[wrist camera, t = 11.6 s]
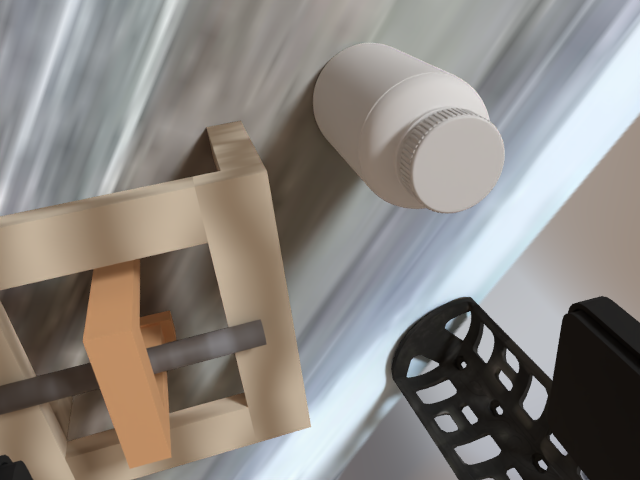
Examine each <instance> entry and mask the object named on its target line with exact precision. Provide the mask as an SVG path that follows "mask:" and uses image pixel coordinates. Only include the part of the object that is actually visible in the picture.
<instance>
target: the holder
mask: <svg viewBox="0 0 640 480" xmlns="http://www.w3.org/2000/svg"><path fill="white" fill-rule="evenodd" d="M469 311H471V324H470V328H469V331H468V333H467V335H466V337H465V339H464V340H461V339H459V338H458V337H456V336H455V335H454V334H452V333H451V332H449V331H448V330H446V329H445V325H446V323H447V322H448V321H449V320H451V319H453V318H455V317H457V316H459V315H461V314H464V313H466V312H469ZM484 324H485V325H486V326H487V327H488V328H489V329H490V330H491V332H492V333H493V335H494V342H495V343H494V349H493V352H492V355H491V357H490V359H489V361H488V363H485V362H484V361H483V360H482V358H481V357H480V356H479V355H478V353H477V349H478V346H479V344H480V340H481V338H482V334H483V327H484ZM506 349H508V350H509V351H510V352H511V353H512V354H513V355H514V356H515V357H516V358H517V360H518V362H519V372H518V373H516V372H515V371H514V370H513V369H512V368H511V366H510V365H509V364H508V363H507V361H506ZM417 355H423V356H425V357H427V358H429V359H431V360H433V361H435V362H438V363H439V366H438V367H436V368H435V369H433V370H432V371H430V372H427V373H425V374H423V375H420V376H416V377H411V378H407V377H406V376H407V372H408V368H409V365H410V362H411V360H412V359H413V357H415V356H417ZM462 362H465V363H466V364H467V365H466V367H465V368H464V369H463V367H462V365H461V363H462ZM501 370H502V371H503V373H504V374H505V375H506V376H507V377H508V378H509V379H510V380H511V382H512V384H513V387H512V389H511V391H508V390H507V389H506V387H505V386H504V385H503V384H502V382H501V381H500V380H499V373H500V371H501ZM392 375H393V380H394V381H395V383H396V384H397V386H398V387H399V389H400V390H401V392H402V393H403V395H404V396H405V398H406V399H407V401H408V402H409V404H410V406H411V407H412V409H413V410H414V411H415V413H416V415H417V416H418V418H419V419H420V421H421V422H422V424H423V425H424V427H425V428H426V430H427V431H428V433H429V435H430V436H431V438H432V439H433V441H434V442H435V444H436V445H437V446H438V448H439V450H440V451H441V453H442V454H443V456H444V458H445V459H446V461H447V462H448V464H449V465H450V467H451V468H452V470H453V472H454V473H455V475H456V476H457V478H458V479H459V480H482V479H485V478H493V479H494V480H510V479H509V477H508V476H507V474H506V473H507V470H509V469H511V468H515V469H516V470H517V472H518V473H519V475H520V476H521V477H522V479H523V480H583V479H582V477H581V475H580V472H581V469H580V467H579V466H578V465H577V464H576V462H575V461H574V460H573V459H572V457H571V456H570V455H569V454H567V455H566V456H564V455H563V454H561V452H560V451H559V450H558V449H557V448H556V447H555V445H554V444H553V443H552V442H551V441H550V435H551V434H552V432H551V429H550V427H549V424H548V420H547V412H548V406H549V400H550V394H551V387H552V380H551V379H550V378H549V377H548V376H547V375H546V374H545V373H544V372H543V371H542V370H541V369H540V368H539V367H538V366H537V365H536V364H535V363H534V362H533V361H532V360H531V359H530V358H529V357H528V356H527V355H526V354H525V352H523V350H522V349H521V348H520V347H519V346H518V345H517V344H516V343H515V342H514V341H513V340H512V339H511V338H510V337H509V336H508V335H507V334H506V333H505V332H504V331H503V330H502V329H501V328H500V327H499V326H498V325H497V324H496V323H495V322H494V321H493V320H492V319H491V318H490V317H489V316H488V315H487V313H486V312H485V311H484V310H483V309H482V308H481V307H480V306H479V305H478V304H477V303H476V302H475V301H474V300H473V299H472V298H471V297H461V298H458V299H455V300H453V301H451V302H449V303H447V304H445V305H443V306H441V307H439V308H437V309H435V310H434V311H432V312H431V313H430V314H428V315H427V316H426V317H424V318H423V319H422V320H420V321H419V322H418V323H417V324H416V325H415V326H414V327H413V328H412V329H411V330H410V331H409V332H408V333H407V334H406V336H405V337H404V339H403V340H402V342H401V343H400V345H399V347H398V348H397V350H396V353H395V356H394V358H393V362H392ZM532 376H534V377H535V378H536V379H537V380H538V381H539V382H540V383H541V384H542V385H543V386H544V387H545V388H546V391H547V394H548V398H547V402H546V405H545V408H544V411H543V413H542V415H541V416H540V418H539V419H537V420H533V419H532V418H531V417H530V416H529V415H528V413H527V412H526V411H525V410H524V409H523V402H524V400H525V398H526V396H527V393H528V391H529V388H530V385H531V381H532ZM446 380H450V381H451V383H452V384H453V385H454V387H455V388H456V389H457V393H456V394H455V395H454V396H452V397H450V398H448V399H445V400H443V401H440V402H437V403H433V404H424V403H423V402H422V401H421V399H420V398H419V396H418V395H417V394H416V392H417V391H419V390H422V389H426V388H429V387H432V386H435V385H437V384H439V383H441V382H444V381H446ZM466 406H469V407H470V408H471V410H472V411H473V413H474V414H475V415H476V417H477V418H478V422H476V423H475V424H473V425H472V424H470V422H469V421H468V420H467V419H466V417H465V415H464V414H463V413H462V409H463V408H464V407H466ZM498 406H500V407H501V408H502V409H503V414H502V415H499V414H498V413H497V411H496V408H497V407H498ZM441 415H450V416H451V417H452V419H453V420H454V422H455V423H456V425H457V427H458V430H457V431H454V432H448V433H447V432H445V431H443V430H441V429H440V427H439V426H438V424H437V423H436V421H435V420H434V418H435V417H437V416H441ZM487 435H491V437H492V438H493V439H494V441H495V442H496V444H497V445H498V446H499V448H500V449H501V452H500V454H499V455H498V456H496V457H494V458H492V459H489V460H487V461H484V462H481V463H477V464H473V465H468V464H466V463H464V462H463V461H462V459H461V458H460V457H459V456H458V454H457V453H456V451H455V450H454V448H456V447H457V446H461V445H464V444H467V443H471V442H473V441H475V440H478V439H480V438H482V437H485V436H487ZM540 460H543V461H544V462H545V464H546V465H547V466H548V468H547V470H544V469H543V468H541V467H540V466H539V464H538V461H540Z"/></svg>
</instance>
